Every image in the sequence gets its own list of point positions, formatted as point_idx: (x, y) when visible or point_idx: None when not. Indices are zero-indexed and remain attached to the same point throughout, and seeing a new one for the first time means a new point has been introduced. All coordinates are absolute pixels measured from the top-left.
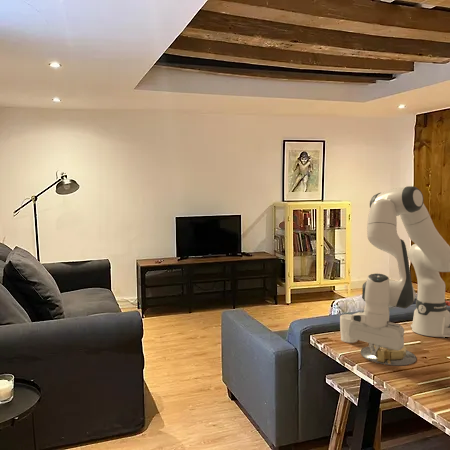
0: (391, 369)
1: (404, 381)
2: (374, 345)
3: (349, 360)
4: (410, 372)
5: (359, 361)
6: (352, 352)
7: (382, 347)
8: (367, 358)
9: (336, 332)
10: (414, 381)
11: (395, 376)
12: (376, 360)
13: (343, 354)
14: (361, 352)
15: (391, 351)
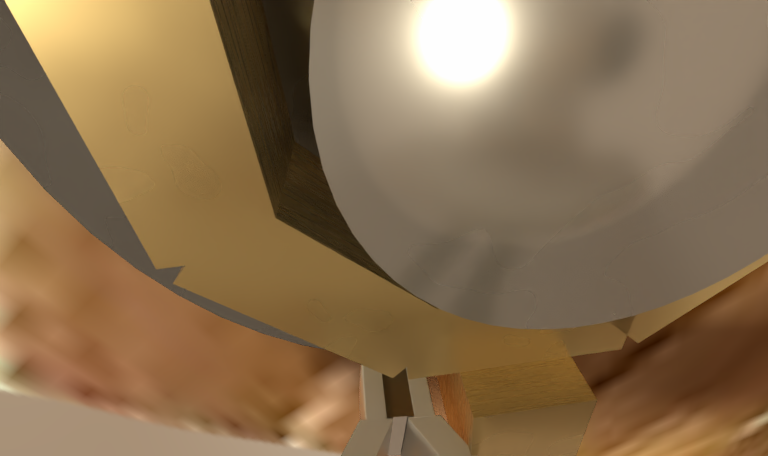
0: None
1: (665, 448)
2: (263, 273)
3: (202, 432)
4: (736, 333)
5: (279, 403)
6: (14, 272)
7: (506, 412)
8: (307, 345)
9: None
10: (732, 420)
11: (610, 433)
12: None
13: (28, 375)
14: (113, 239)
15: (641, 332)
